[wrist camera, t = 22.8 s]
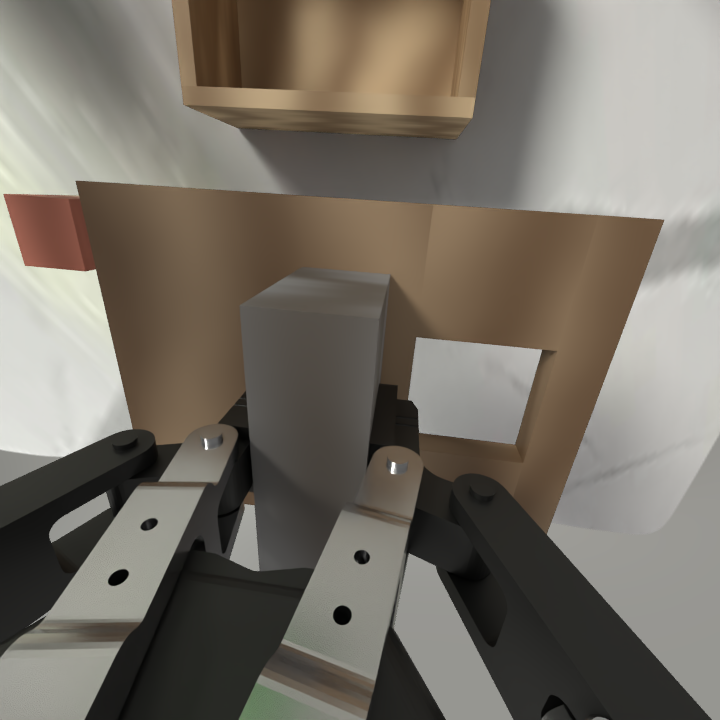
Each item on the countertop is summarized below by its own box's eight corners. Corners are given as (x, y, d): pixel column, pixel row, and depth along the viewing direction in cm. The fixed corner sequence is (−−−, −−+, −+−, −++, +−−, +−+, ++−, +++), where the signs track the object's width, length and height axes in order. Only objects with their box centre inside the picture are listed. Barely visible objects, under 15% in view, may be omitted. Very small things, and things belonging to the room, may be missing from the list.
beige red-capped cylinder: (186, 238, 35) (25, 265, 20) (181, 197, 33) (3, 193, 19) (222, 242, 34) (85, 271, 20) (219, 200, 33) (68, 198, 18)
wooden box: (237, 127, 30) (183, 104, 23) (223, -93, 25) (147, -213, 18) (456, 139, 29) (472, 117, 21) (490, -95, 24) (526, -227, 16)
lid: (162, 472, 19) (55, 590, 13) (103, 182, 13) (-126, 168, 8) (533, 524, 17) (595, 685, 11) (640, 217, 12) (859, 234, 6)
